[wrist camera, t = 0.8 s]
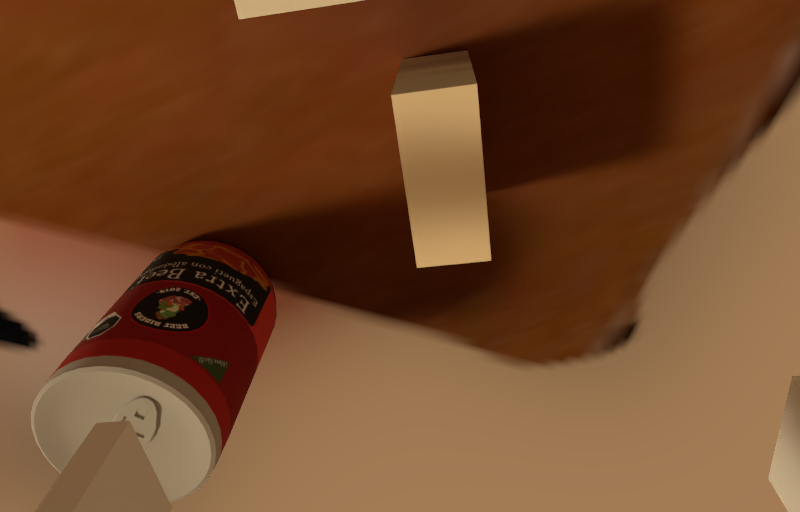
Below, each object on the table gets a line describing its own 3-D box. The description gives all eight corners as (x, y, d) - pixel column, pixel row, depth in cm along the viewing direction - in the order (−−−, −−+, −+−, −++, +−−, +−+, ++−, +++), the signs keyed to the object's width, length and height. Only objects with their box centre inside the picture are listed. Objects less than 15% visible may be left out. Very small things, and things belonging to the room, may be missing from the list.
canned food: (291, 255, 32) (228, 393, 22) (268, 365, 36) (206, 524, 26) (151, 218, 31) (23, 344, 22) (143, 334, 35) (31, 485, 25)
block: (401, 59, 27) (391, 95, 20) (467, 50, 26) (477, 83, 20) (420, 200, 30) (416, 268, 24) (479, 193, 30) (491, 260, 23)
